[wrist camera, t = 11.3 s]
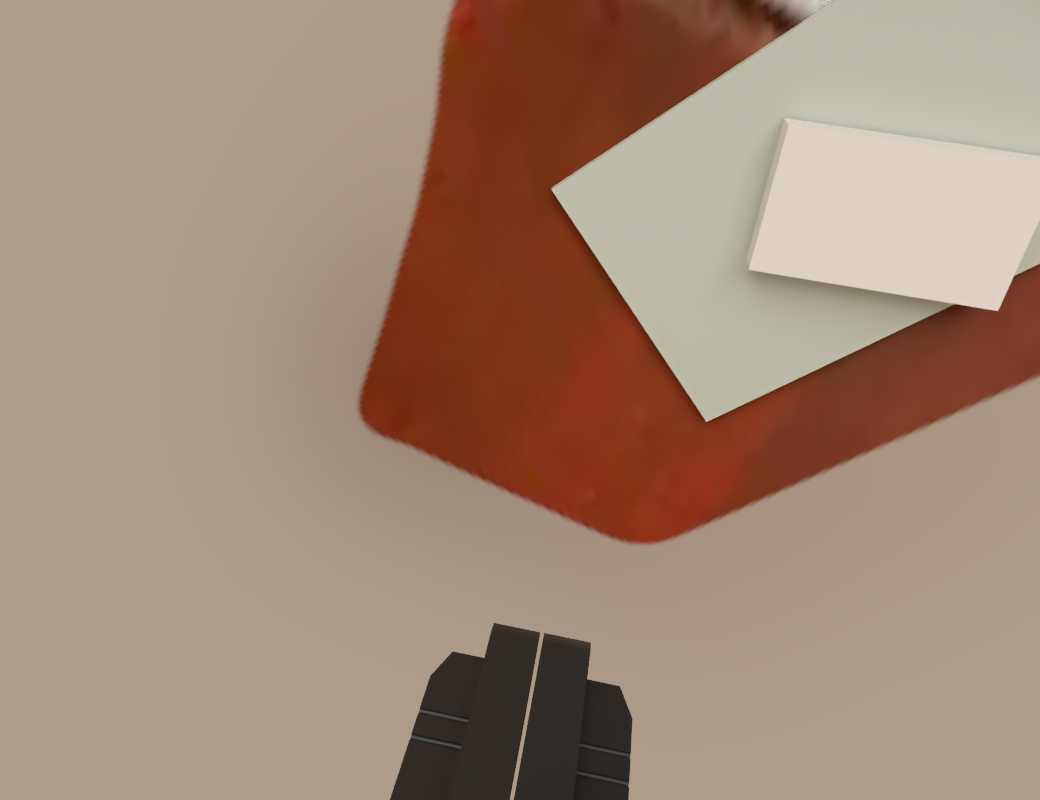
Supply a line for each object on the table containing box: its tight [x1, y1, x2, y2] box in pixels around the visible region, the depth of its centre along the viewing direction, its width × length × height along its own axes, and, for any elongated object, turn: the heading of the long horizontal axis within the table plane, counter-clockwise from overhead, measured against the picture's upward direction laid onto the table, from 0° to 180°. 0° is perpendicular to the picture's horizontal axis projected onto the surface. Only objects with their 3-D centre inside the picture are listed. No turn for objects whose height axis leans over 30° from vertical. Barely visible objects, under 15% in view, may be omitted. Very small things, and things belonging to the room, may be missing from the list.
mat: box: [552, 0, 1040, 422], centre depth 39 cm, size 16×24×1 cm, turn 125°
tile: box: [746, 118, 1040, 311], centre depth 38 cm, size 2×7×12 cm
